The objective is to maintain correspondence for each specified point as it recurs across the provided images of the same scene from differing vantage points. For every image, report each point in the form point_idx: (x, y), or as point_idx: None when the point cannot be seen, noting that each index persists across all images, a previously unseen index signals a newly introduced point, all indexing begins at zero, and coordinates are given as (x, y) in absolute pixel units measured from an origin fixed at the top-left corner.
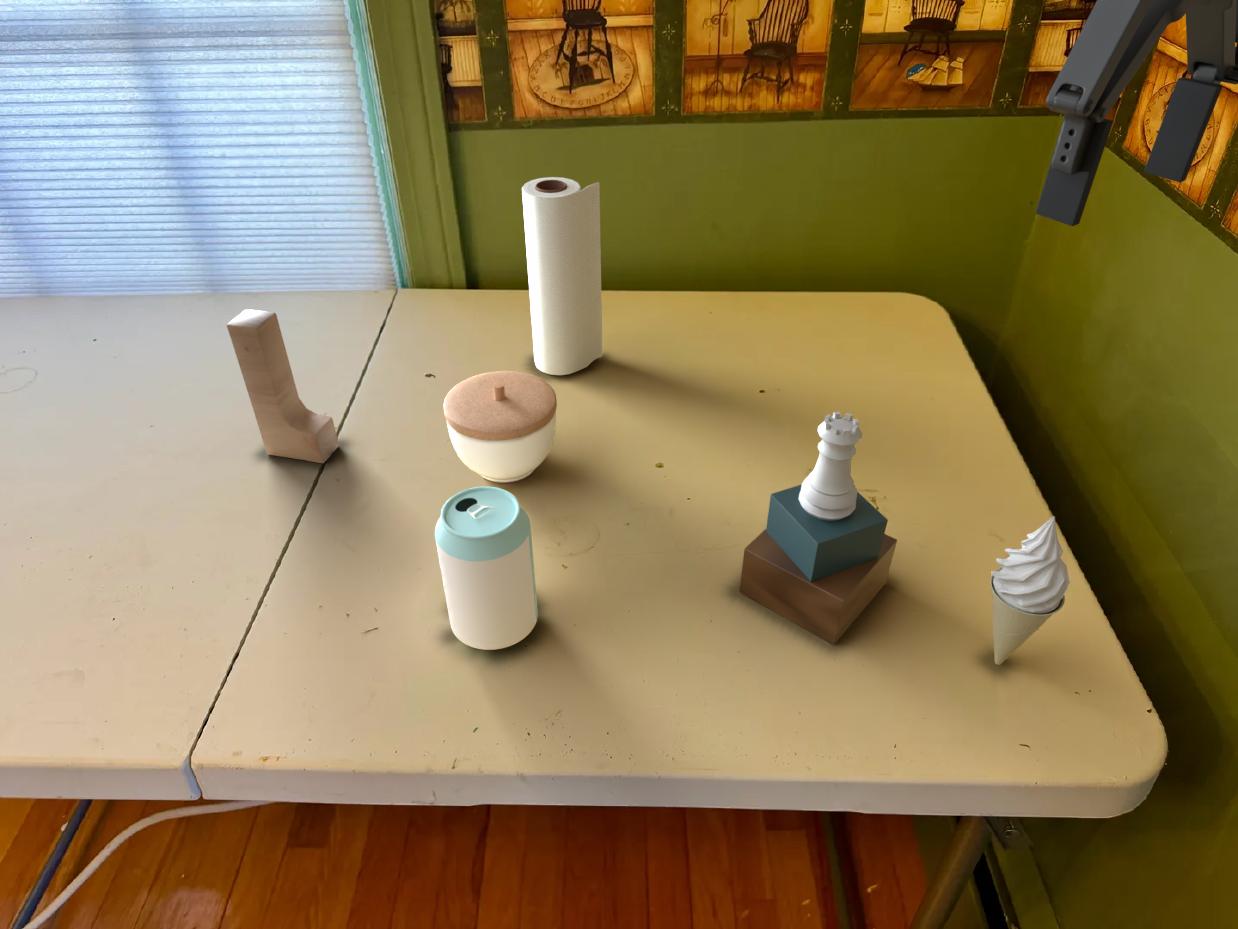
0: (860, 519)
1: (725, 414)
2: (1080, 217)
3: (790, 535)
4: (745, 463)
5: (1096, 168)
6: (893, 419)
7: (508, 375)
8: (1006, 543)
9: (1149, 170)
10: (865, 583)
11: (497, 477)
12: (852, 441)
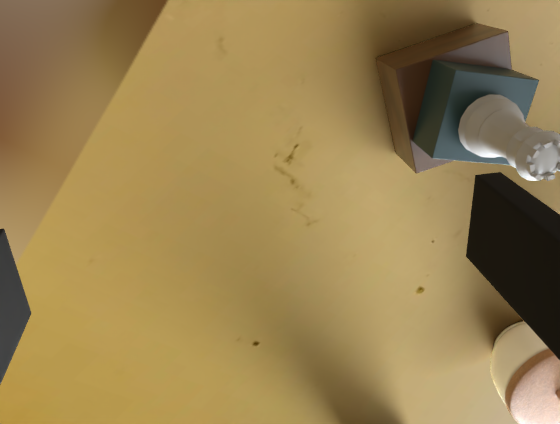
0: (477, 86)
1: (315, 327)
2: (487, 180)
3: None
4: (354, 259)
5: (554, 235)
6: (164, 250)
7: (530, 418)
8: (220, 32)
9: (24, 307)
10: (453, 45)
11: None
12: (551, 133)
